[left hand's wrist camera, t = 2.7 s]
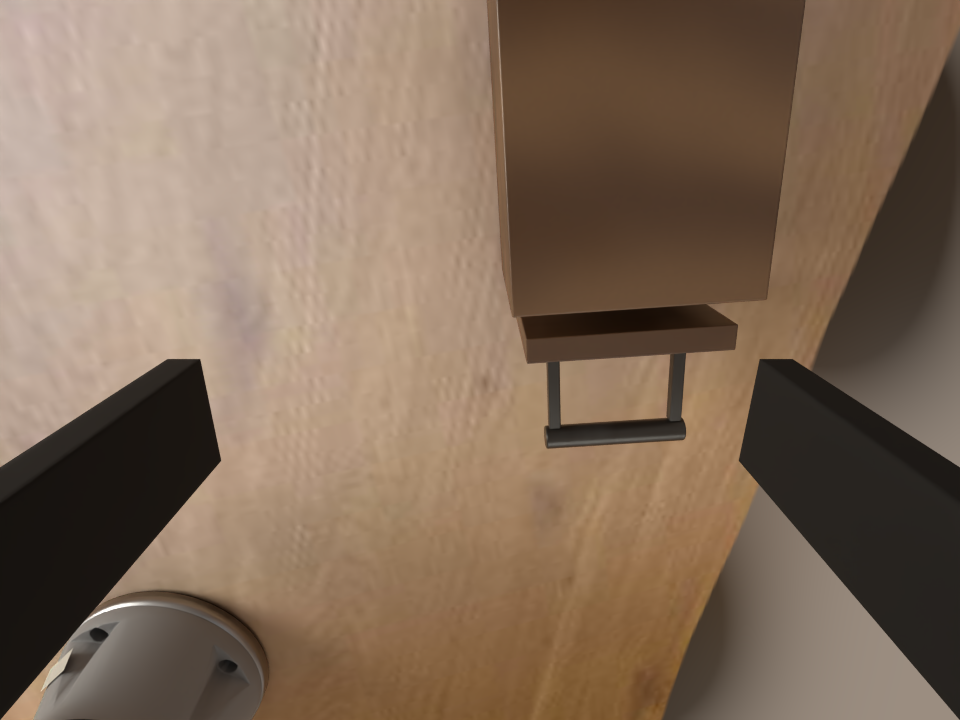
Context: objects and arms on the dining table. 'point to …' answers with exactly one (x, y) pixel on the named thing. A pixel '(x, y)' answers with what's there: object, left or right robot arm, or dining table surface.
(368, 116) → the dining table surface
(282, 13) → the dining table surface
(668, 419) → the drawer
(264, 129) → the dining table surface
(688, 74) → the cabinet
